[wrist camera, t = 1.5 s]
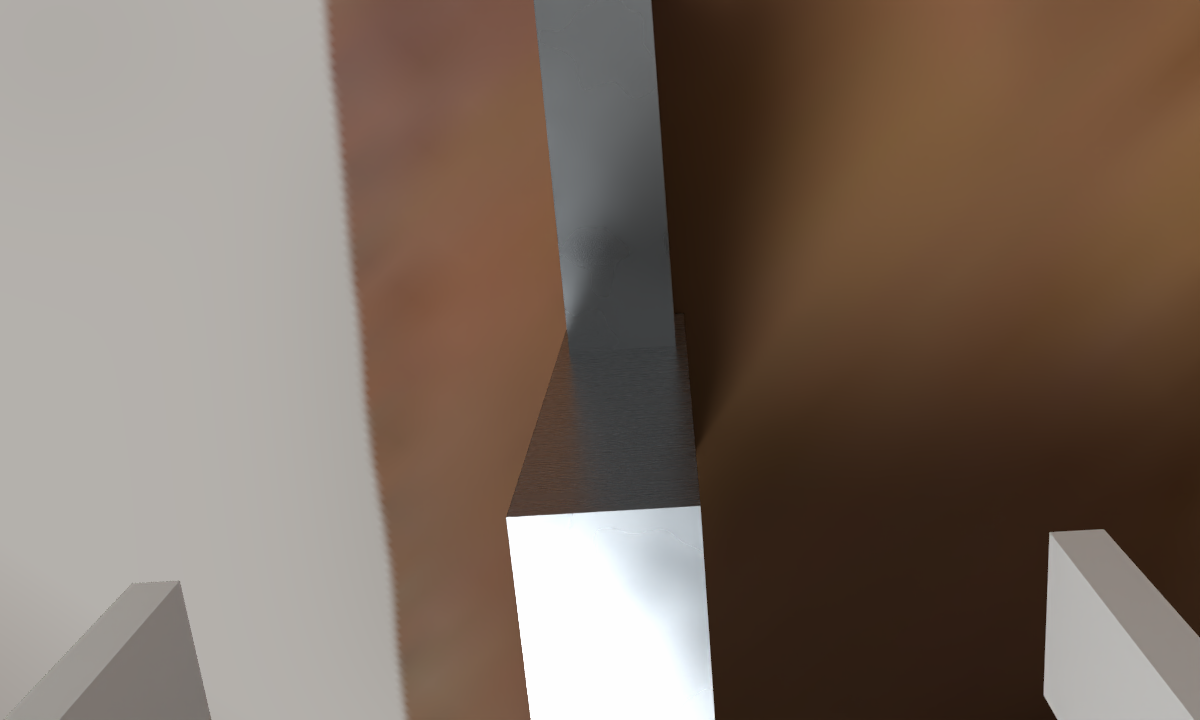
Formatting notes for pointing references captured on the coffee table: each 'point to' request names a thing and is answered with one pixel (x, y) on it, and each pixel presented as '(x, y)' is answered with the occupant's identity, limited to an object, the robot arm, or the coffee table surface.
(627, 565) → the crook
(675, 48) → the coffee table surface
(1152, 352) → the coffee table surface
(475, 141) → the coffee table surface
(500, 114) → the coffee table surface
